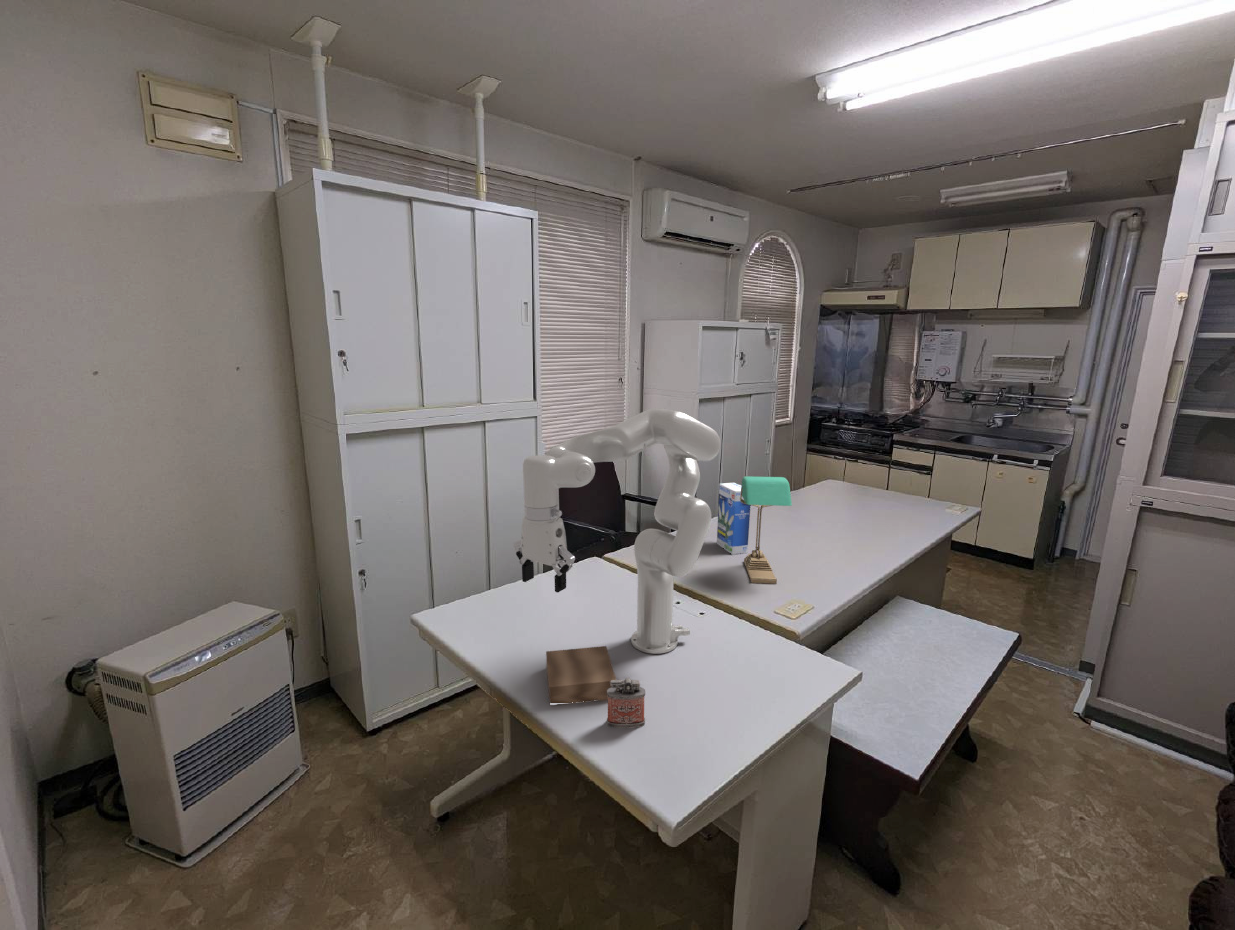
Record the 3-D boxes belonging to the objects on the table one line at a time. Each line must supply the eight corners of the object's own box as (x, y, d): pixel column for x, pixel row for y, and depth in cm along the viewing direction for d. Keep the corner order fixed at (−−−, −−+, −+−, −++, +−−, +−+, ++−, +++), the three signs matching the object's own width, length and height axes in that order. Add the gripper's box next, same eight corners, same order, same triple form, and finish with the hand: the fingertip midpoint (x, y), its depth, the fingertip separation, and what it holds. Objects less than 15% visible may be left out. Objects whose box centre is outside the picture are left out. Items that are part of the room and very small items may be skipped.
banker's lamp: (776, 563, 204) (782, 472, 197) (788, 586, 183) (795, 485, 176) (734, 561, 205) (738, 471, 198) (741, 584, 185) (746, 484, 178)
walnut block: (606, 663, 137) (606, 645, 136) (616, 700, 123) (616, 680, 122) (546, 669, 135) (546, 651, 134) (550, 707, 120) (549, 687, 119)
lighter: (644, 717, 117) (644, 675, 115) (645, 727, 113) (646, 684, 111) (606, 717, 116) (606, 675, 114) (607, 728, 113) (607, 685, 111)
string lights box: (716, 543, 224) (718, 483, 219) (732, 542, 227) (735, 482, 222) (731, 554, 212) (734, 490, 207) (749, 552, 214) (752, 489, 209)
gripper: (583, 514, 117) (584, 588, 120) (525, 502, 127) (527, 571, 130) (561, 523, 111) (562, 600, 114) (501, 509, 120) (504, 581, 124)
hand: (544, 584), depth 122 cm, fingers open, 9 cm apart
